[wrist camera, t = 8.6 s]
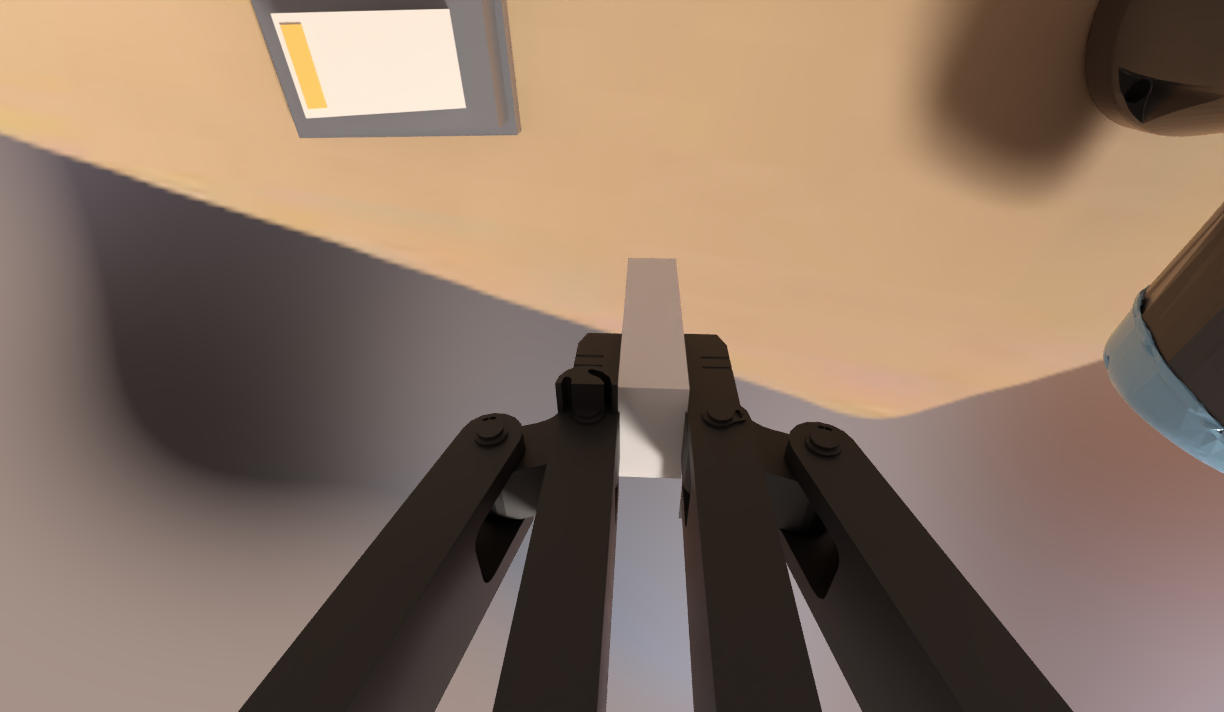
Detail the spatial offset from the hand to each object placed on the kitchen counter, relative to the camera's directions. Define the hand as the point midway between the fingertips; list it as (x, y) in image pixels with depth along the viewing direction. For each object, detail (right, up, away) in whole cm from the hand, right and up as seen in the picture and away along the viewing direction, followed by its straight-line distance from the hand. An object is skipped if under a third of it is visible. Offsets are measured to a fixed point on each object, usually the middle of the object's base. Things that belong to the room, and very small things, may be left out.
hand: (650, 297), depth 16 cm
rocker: (-15, +15, +13) cm, 25 cm away
